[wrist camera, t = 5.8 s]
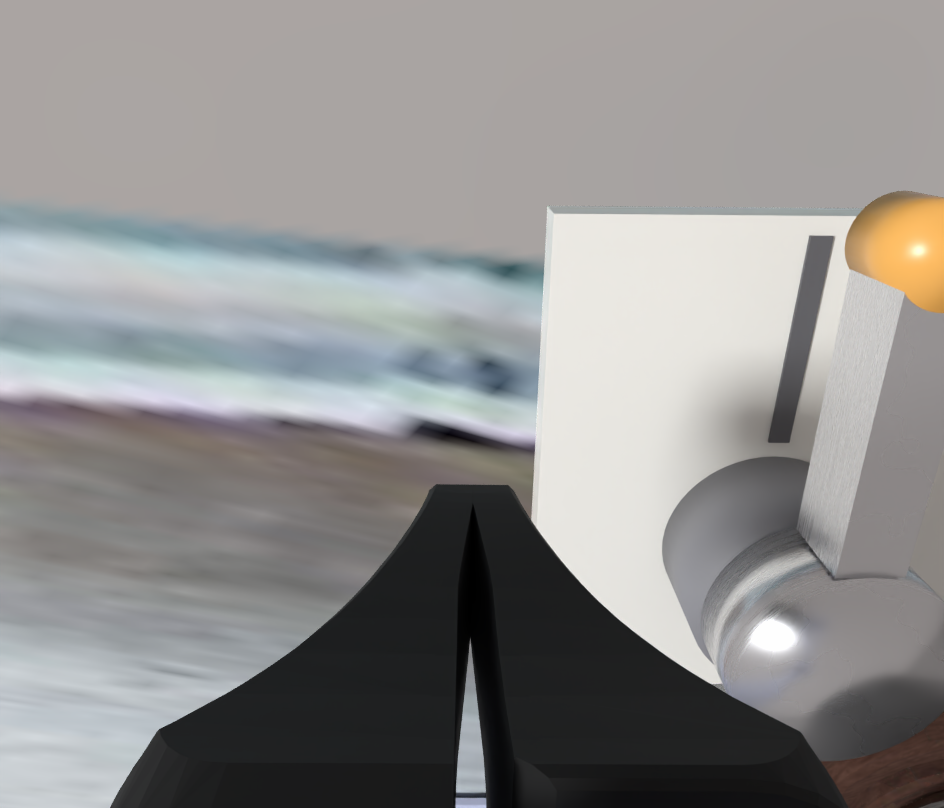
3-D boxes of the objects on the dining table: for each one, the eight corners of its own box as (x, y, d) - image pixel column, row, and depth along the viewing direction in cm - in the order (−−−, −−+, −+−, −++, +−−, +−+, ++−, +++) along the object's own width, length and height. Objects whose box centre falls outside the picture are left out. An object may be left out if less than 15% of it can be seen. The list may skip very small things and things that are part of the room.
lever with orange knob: (883, 686, 20) (935, 759, 18) (689, 689, 20) (717, 763, 18) (1034, 188, 14) (1136, 203, 12) (765, 192, 14) (819, 207, 12)
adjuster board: (900, 652, 26) (984, 758, 21) (524, 652, 25) (535, 758, 21) (1048, 210, 19) (1208, 238, 15) (547, 205, 19) (570, 233, 15)
